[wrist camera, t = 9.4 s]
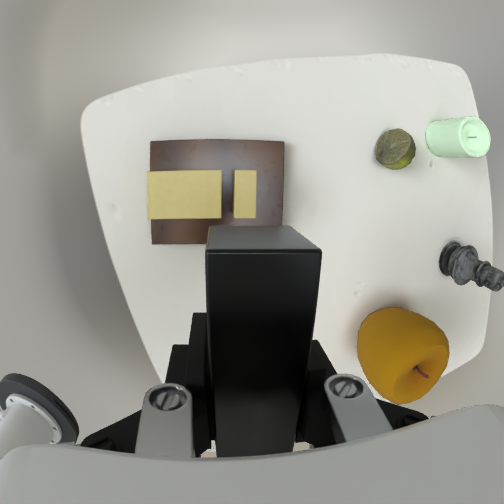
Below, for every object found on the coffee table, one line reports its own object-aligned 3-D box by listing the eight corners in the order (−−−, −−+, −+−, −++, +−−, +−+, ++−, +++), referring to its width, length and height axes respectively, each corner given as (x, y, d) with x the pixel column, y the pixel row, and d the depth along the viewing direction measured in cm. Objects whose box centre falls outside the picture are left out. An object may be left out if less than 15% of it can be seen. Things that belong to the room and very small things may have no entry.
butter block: (155, 214, 30) (147, 219, 27) (154, 171, 29) (146, 171, 25) (220, 213, 31) (221, 218, 27) (221, 170, 30) (221, 169, 26)
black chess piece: (438, 242, 36) (498, 267, 25) (464, 237, 36) (521, 258, 25) (436, 281, 38) (490, 313, 26) (461, 273, 38) (514, 300, 27)
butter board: (153, 242, 32) (151, 244, 31) (152, 142, 29) (150, 141, 28) (279, 241, 33) (281, 243, 32) (282, 142, 30) (284, 141, 30)
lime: (373, 170, 32) (395, 171, 28) (367, 130, 31) (389, 126, 26) (402, 168, 33) (426, 169, 28) (397, 130, 31) (420, 126, 27)
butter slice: (232, 213, 31) (234, 218, 28) (233, 170, 30) (235, 170, 26) (251, 213, 31) (255, 218, 28) (252, 170, 30) (256, 170, 27)
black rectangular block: (216, 381, 16) (221, 500, 8) (212, 205, 14) (204, 249, 6) (257, 380, 16) (282, 495, 9) (264, 205, 14) (323, 250, 6)
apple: (406, 346, 40) (452, 394, 28) (344, 369, 39) (381, 429, 27) (409, 283, 37) (469, 323, 25) (341, 305, 36) (389, 360, 24)
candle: (428, 157, 33) (470, 158, 25) (421, 121, 31) (463, 115, 23) (452, 155, 33) (493, 156, 25) (446, 121, 32) (487, 116, 24)
